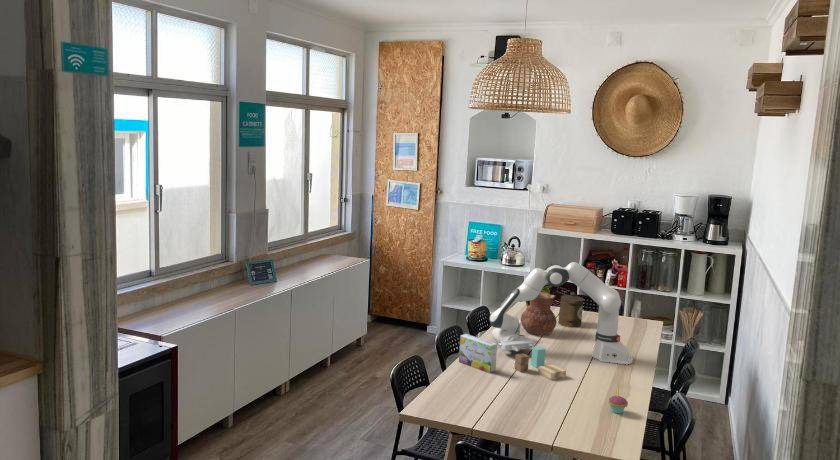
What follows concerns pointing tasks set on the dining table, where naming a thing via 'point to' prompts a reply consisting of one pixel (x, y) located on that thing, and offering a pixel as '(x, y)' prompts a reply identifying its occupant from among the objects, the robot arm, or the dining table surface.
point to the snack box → (478, 353)
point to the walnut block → (521, 362)
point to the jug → (539, 315)
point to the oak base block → (552, 372)
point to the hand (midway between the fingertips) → (525, 349)
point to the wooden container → (570, 310)
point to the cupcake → (617, 403)
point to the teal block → (538, 356)
